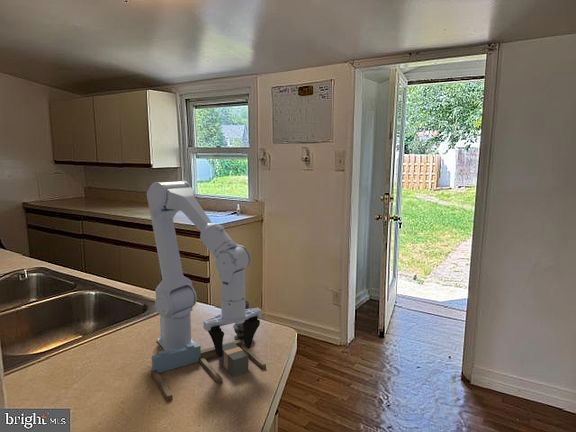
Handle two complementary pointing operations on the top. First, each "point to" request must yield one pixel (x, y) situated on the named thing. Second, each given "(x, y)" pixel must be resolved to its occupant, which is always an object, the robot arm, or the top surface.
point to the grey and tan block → (234, 359)
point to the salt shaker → (240, 327)
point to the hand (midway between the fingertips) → (233, 351)
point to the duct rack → (190, 362)
